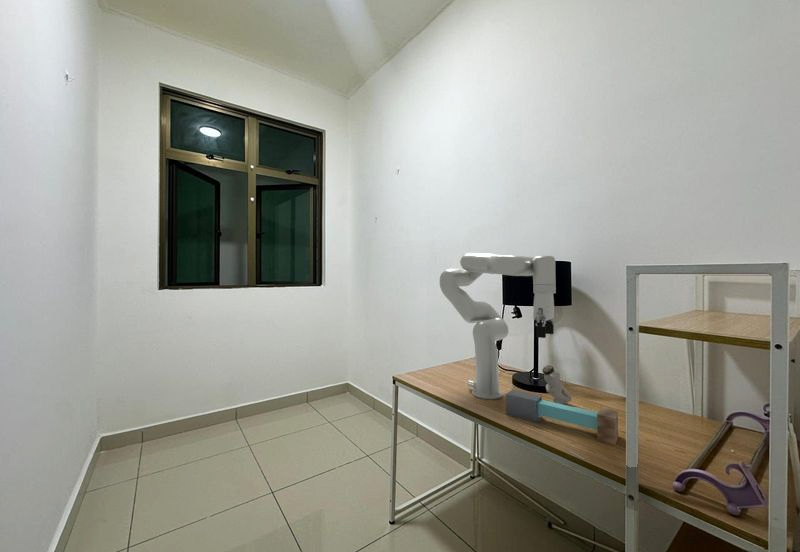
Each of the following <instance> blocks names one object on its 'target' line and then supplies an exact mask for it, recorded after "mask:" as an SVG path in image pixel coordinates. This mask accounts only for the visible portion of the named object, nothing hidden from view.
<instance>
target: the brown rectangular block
mask: <svg viewBox="0 0 800 552" xmlns="http://www.w3.org/2000/svg"><path fill="white" fill-rule="evenodd" d="M597 412H598V414H597V430H596V431H597V432H596V433H597V434H596V435H597V442H598V441H599V442H602V443H606V444H609V445H613V446H616V443H617V440H618V439H619V411H618V410H615V409H611V408H610V409H609V408H605V407H600V408H599V410H598V411H597Z"/></svg>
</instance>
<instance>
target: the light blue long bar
mask: <svg viewBox="0 0 800 552" xmlns="http://www.w3.org/2000/svg"><path fill="white" fill-rule="evenodd" d="M598 412H599V411H592V410H589V409H583V408H580V407H575V406H570V405H566V404H563V405H562V404H558V403H554V401H548V400H544V399H542V400H538V401H537V415H540V416H542V417H544V418H549V419H552V420H557V421H561V422H564V423H569V424H571V425H572V424H573V425H576V426H580V427H584V428H589V429H592V430H594V431H597V414H598Z"/></svg>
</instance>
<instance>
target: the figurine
mask: <svg viewBox="0 0 800 552" xmlns="http://www.w3.org/2000/svg"><path fill="white" fill-rule="evenodd" d="M541 372H542V373H543V374H544V378H543V379H544V381H545V382H546V383H547V384H546V385H545V390H546V392H547V393H548V394H550V395H551V397H552V402H553V403H558V404H562V405H566V404H568V403H569V402H571V401H572V399H573V398H572V397H573V396H572V394H571V393H570V392H569V391H568V389H567V388H565V386H564V383H563V382H562V380H561V379H560V377H561V375H560V372H559V370H557V369H556V368H554V367H553V365H546V366H544V367H543V368H542V371H541Z"/></svg>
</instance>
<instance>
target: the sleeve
mask: <svg viewBox="0 0 800 552" xmlns="http://www.w3.org/2000/svg"><path fill="white" fill-rule="evenodd" d="M538 400H543V396H542V395H540V394H536V393H532V392H531V393H530V392H526V391H522V390H517V389H510V390H508V392H506V393H505V415H506V416H509V417H512V418H517V419H519V418H520V420H524V421H527V422H530V423H535V424H537V423H538V422H539V421H540V420H541V419H542V418H543V416H540V415H537V401H538Z"/></svg>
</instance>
